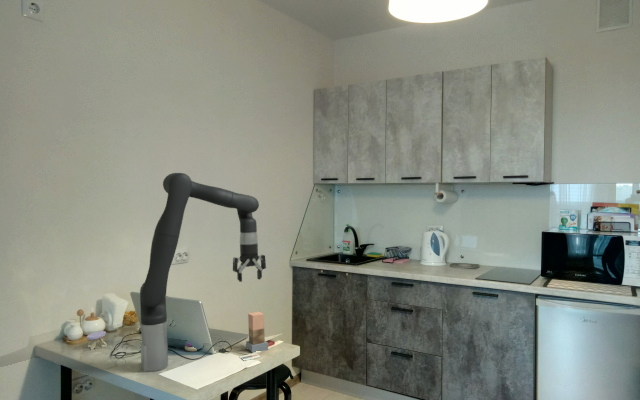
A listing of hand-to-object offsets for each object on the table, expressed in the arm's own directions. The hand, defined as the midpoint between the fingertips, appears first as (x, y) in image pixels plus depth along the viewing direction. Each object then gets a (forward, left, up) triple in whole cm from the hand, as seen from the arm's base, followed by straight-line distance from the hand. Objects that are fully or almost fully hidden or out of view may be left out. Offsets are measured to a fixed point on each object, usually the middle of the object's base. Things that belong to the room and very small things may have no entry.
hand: (249, 280), depth 193 cm
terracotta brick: (0, -6, -19) cm, 20 cm away
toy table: (-57, +38, -28) cm, 75 cm away
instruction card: (-6, -13, -28) cm, 32 cm away
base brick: (0, -6, -28) cm, 29 cm away
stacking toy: (-22, +10, -28) cm, 37 cm away
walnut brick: (0, -6, -25) cm, 26 cm away
